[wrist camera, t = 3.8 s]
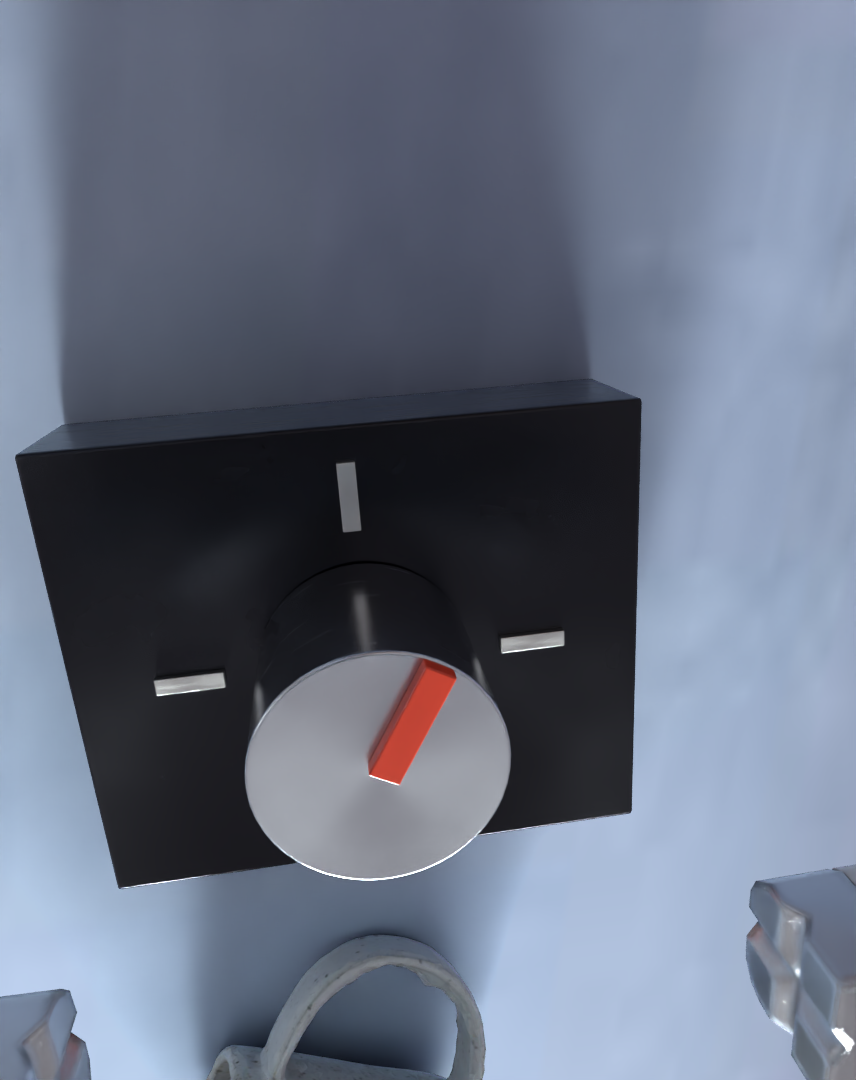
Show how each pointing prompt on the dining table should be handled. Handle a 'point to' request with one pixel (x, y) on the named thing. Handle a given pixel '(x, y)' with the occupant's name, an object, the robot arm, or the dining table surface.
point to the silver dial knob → (372, 727)
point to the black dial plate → (327, 543)
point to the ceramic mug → (285, 1076)
